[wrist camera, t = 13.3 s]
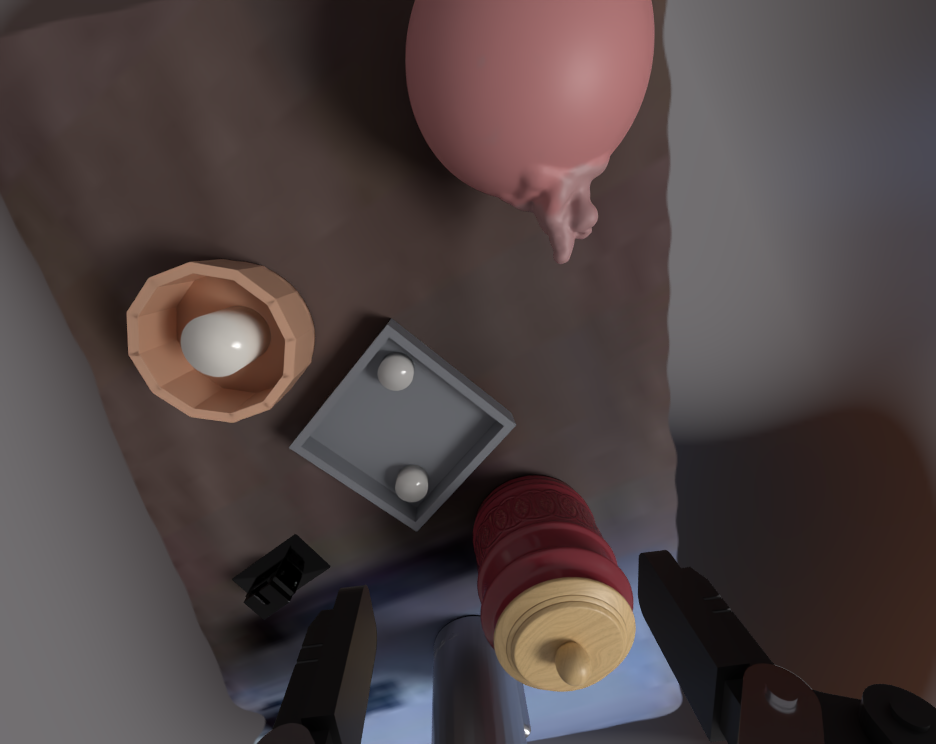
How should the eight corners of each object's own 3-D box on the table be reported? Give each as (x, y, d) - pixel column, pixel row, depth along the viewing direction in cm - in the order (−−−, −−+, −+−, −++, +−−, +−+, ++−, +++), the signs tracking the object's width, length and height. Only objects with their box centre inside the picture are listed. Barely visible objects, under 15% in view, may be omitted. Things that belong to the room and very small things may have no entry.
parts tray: (511, 412, 43) (516, 425, 40) (418, 513, 46) (416, 531, 43) (391, 318, 40) (387, 324, 37) (299, 433, 43) (288, 447, 40)
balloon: (445, 275, 39) (446, 297, 24) (394, 13, 33) (354, -169, 18) (612, 243, 39) (714, 245, 24) (591, -25, 33) (710, -238, 18)
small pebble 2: (434, 482, 44) (434, 491, 43) (408, 497, 45) (407, 507, 43) (416, 458, 44) (415, 467, 42) (390, 474, 44) (388, 484, 42)
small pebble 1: (421, 372, 41) (420, 378, 39) (393, 390, 41) (391, 397, 40) (401, 345, 40) (399, 350, 38) (373, 363, 40) (370, 369, 39)
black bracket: (302, 518, 46) (288, 547, 42) (348, 561, 48) (338, 593, 44) (218, 578, 48) (196, 612, 43) (265, 617, 50) (248, 654, 45)
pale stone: (281, 329, 39) (259, 342, 34) (251, 370, 40) (224, 388, 35) (232, 293, 38) (202, 301, 33) (202, 336, 39) (168, 350, 34)
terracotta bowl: (342, 322, 40) (326, 336, 34) (266, 420, 42) (239, 448, 37) (220, 229, 37) (180, 228, 31) (146, 340, 39) (97, 357, 34)
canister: (493, 586, 50) (519, 764, 33) (454, 495, 46) (461, 644, 29) (601, 550, 49) (684, 713, 32) (570, 455, 45) (646, 583, 28)
